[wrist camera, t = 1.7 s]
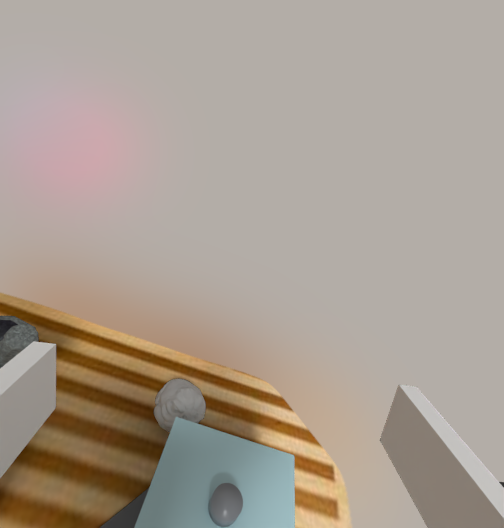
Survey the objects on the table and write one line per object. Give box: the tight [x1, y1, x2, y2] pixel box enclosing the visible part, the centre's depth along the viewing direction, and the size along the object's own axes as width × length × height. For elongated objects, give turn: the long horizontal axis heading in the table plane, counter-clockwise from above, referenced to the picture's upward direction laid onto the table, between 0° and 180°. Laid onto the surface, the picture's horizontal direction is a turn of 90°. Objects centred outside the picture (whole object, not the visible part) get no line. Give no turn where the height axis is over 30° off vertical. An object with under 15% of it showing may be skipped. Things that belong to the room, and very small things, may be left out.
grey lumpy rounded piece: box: [154, 379, 206, 432], centre depth 37 cm, size 6×7×7 cm
